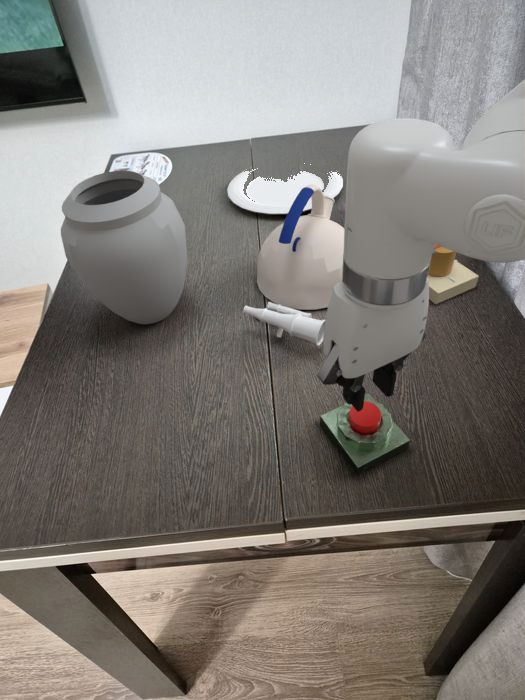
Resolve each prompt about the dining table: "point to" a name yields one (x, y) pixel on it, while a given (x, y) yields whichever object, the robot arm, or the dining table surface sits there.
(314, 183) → the plate
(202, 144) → the dining table surface
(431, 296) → the dimmer panel
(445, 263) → the dimmer knob
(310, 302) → the kettle
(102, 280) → the vase
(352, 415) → the button
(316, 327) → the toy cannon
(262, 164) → the dining table surface
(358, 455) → the switch block
